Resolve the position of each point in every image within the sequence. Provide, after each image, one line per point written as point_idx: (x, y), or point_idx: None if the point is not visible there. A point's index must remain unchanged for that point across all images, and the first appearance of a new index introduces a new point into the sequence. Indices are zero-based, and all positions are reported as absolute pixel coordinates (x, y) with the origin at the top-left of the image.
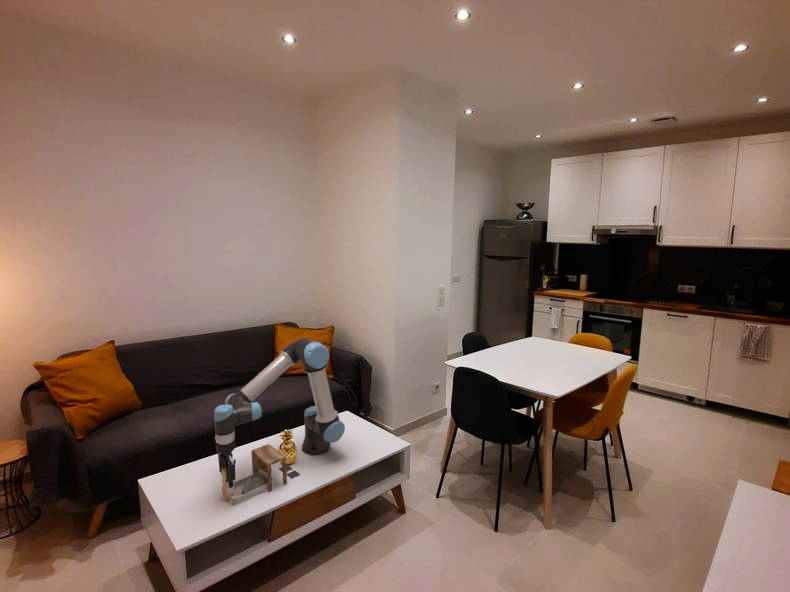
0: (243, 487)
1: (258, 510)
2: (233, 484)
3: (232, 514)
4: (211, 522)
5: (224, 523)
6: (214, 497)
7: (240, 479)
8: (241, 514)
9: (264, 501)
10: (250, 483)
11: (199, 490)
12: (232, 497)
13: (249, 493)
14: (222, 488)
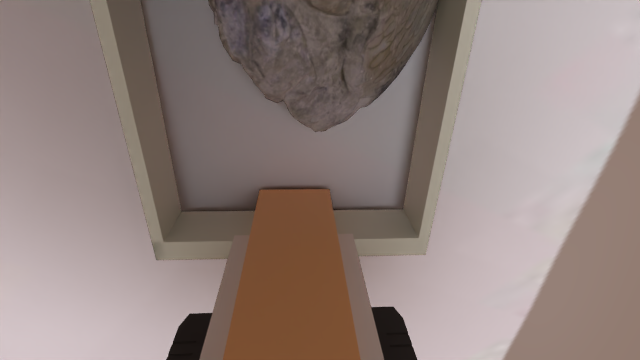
0: (314, 111)
1: (624, 116)
2: (345, 285)
3: (480, 258)
4: (436, 346)
5: (506, 310)
6: (205, 275)
7: (117, 61)
8: (535, 221)
9: (591, 7)
10: (324, 16)
11: (46, 314)
12: (391, 251)
13: (453, 106)
14: (178, 253)
